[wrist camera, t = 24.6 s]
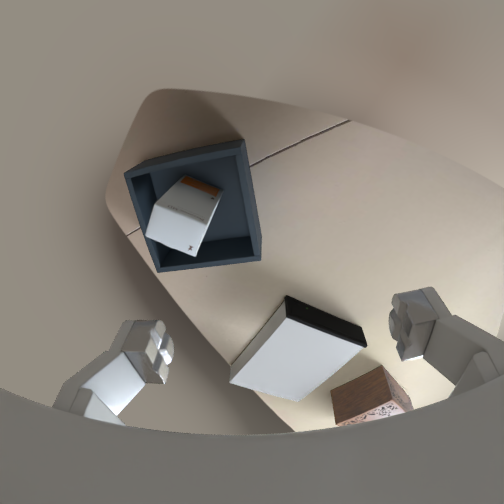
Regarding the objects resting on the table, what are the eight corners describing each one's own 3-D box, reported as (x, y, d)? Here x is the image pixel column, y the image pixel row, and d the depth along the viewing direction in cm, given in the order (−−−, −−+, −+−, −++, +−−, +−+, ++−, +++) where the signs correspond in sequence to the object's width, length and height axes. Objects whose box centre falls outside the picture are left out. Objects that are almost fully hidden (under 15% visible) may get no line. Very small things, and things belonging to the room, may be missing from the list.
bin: (143, 160, 37) (123, 173, 31) (244, 138, 36) (240, 146, 30) (170, 249, 44) (157, 273, 38) (261, 236, 43) (261, 260, 37)
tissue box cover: (409, 397, 67) (418, 424, 59) (368, 417, 72) (374, 444, 64) (382, 365, 58) (392, 399, 49) (330, 390, 63) (335, 424, 55)
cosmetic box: (224, 188, 38) (209, 225, 28) (213, 215, 40) (195, 259, 30) (183, 172, 37) (153, 203, 27) (174, 199, 39) (143, 237, 29)
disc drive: (362, 327, 52) (368, 345, 47) (297, 385, 62) (299, 403, 58) (286, 294, 48) (288, 314, 44) (230, 364, 58) (228, 382, 54)
